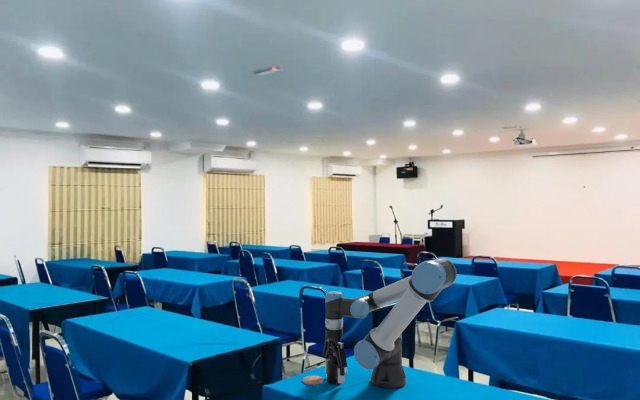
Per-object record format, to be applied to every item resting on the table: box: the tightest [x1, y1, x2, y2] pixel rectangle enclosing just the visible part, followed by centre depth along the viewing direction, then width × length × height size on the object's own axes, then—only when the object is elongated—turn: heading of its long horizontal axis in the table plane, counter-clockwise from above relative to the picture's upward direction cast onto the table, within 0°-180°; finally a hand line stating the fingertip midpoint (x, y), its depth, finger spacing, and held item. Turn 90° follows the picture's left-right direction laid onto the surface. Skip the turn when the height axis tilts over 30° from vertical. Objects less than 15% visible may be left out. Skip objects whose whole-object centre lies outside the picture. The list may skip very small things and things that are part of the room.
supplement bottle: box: [326, 352, 342, 386], centre depth 211 cm, size 7×7×12 cm
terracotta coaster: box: [302, 375, 324, 386], centre depth 212 cm, size 9×9×1 cm
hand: (334, 378), depth 211 cm, fingers open, 12 cm apart
